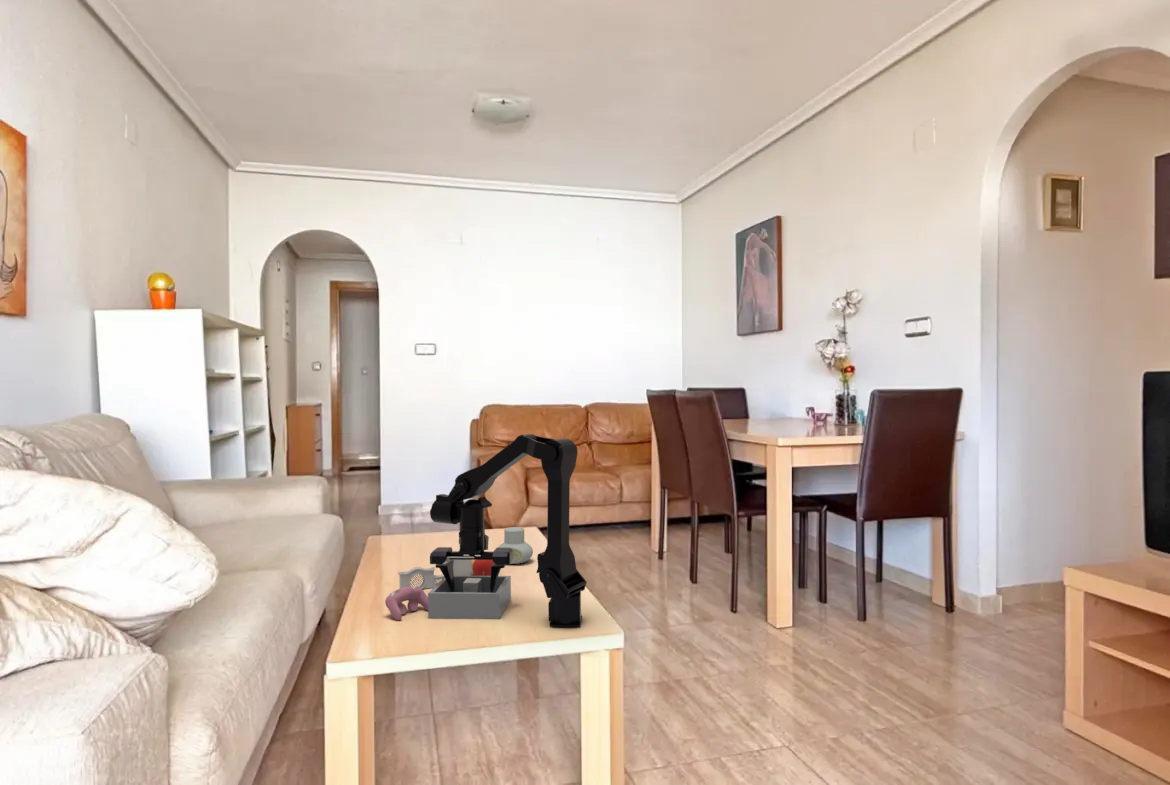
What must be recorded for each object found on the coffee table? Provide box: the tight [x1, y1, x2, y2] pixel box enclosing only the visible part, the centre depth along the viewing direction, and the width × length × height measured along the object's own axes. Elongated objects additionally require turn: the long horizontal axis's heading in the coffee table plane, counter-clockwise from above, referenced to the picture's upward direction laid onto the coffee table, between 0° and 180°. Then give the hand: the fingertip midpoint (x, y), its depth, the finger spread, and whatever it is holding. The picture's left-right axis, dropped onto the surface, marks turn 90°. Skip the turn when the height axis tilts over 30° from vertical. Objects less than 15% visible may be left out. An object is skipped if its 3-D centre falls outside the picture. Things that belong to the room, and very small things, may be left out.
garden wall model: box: [397, 566, 444, 590], centre depth 173 cm, size 12×2×6 cm, turn 121°
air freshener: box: [497, 526, 534, 565], centre depth 200 cm, size 11×8×10 cm
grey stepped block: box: [463, 578, 482, 593], centre depth 156 cm, size 4×8×6 cm, turn 177°
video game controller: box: [385, 585, 428, 622], centre depth 153 cm, size 10×5×7 cm, turn 141°
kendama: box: [470, 560, 494, 576], centre depth 189 cm, size 8×6×18 cm
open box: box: [427, 575, 512, 620], centre depth 157 cm, size 16×15×6 cm
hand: (472, 592), depth 158 cm, fingers open, 9 cm apart
